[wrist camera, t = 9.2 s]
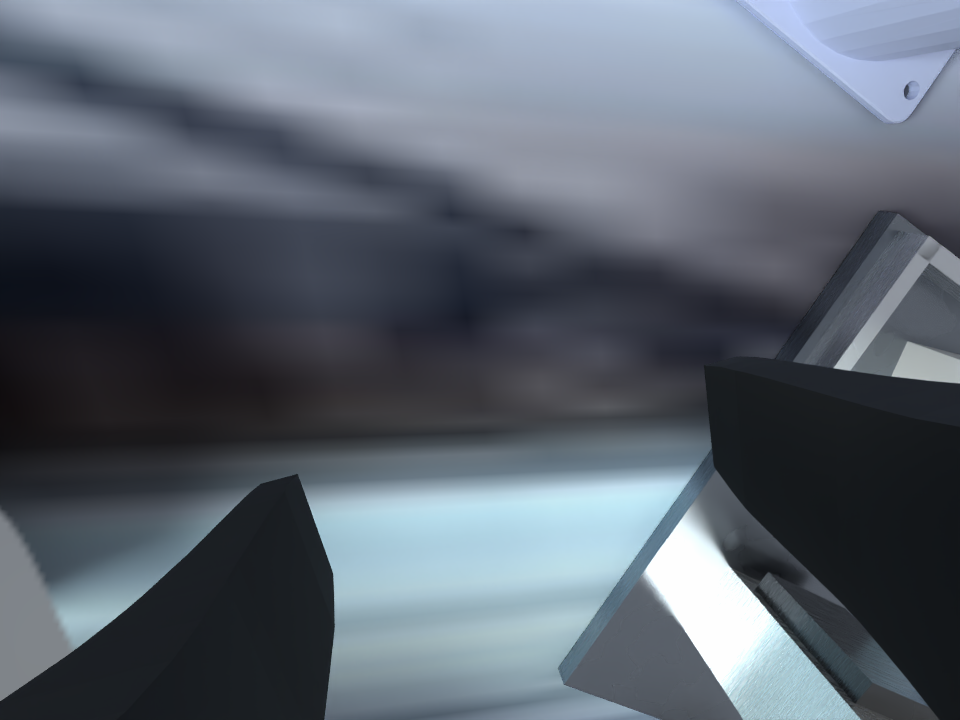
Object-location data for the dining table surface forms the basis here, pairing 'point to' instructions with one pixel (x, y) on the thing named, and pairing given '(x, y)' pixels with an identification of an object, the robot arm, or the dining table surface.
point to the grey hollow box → (771, 543)
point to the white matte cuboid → (928, 364)
